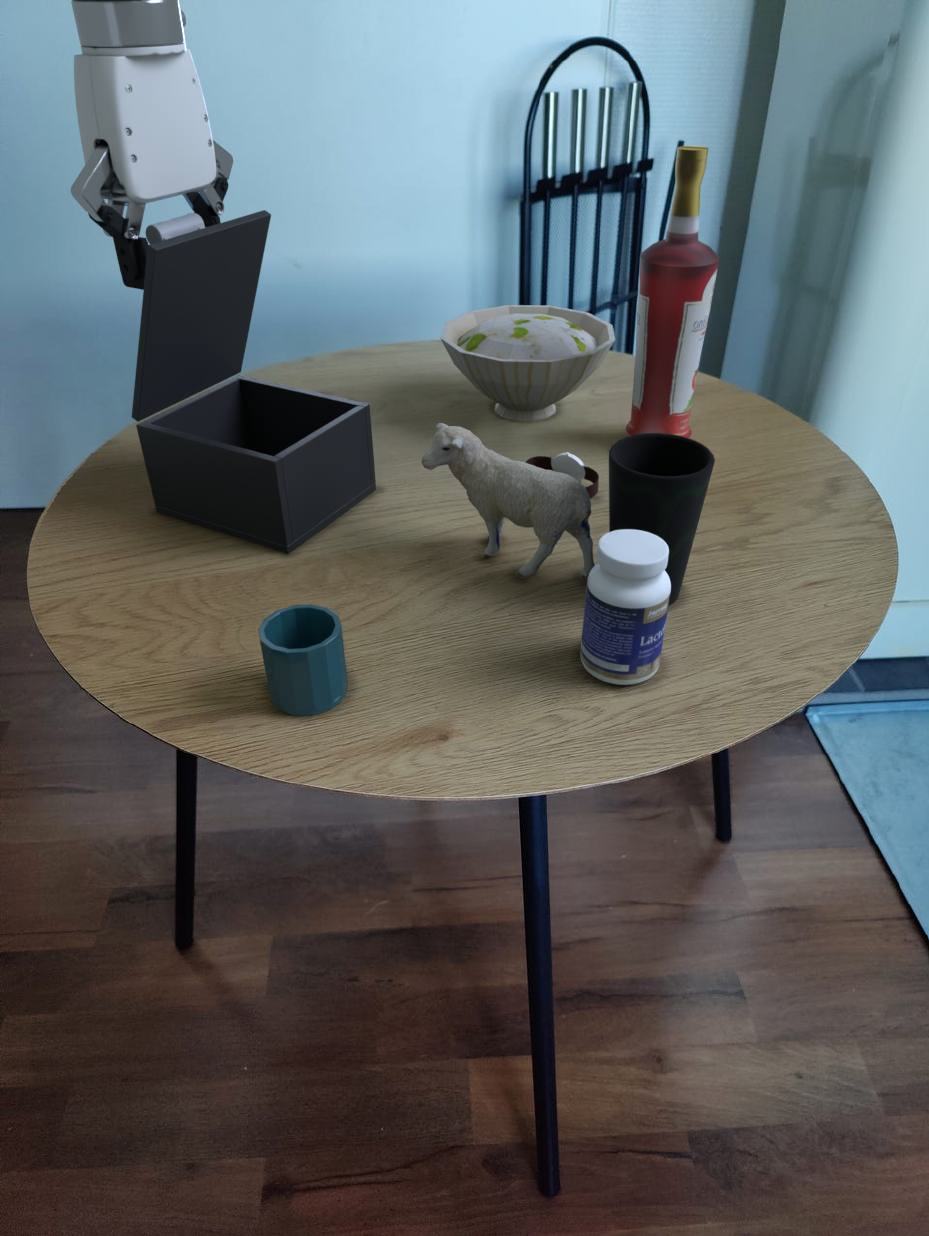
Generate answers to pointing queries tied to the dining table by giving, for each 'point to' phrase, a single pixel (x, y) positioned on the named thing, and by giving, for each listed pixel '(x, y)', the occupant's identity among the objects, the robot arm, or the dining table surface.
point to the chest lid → (195, 306)
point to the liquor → (673, 309)
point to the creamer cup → (304, 659)
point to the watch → (568, 469)
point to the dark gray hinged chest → (260, 460)
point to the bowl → (527, 354)
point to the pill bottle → (626, 607)
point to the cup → (660, 492)
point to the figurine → (515, 495)
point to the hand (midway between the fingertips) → (176, 273)
